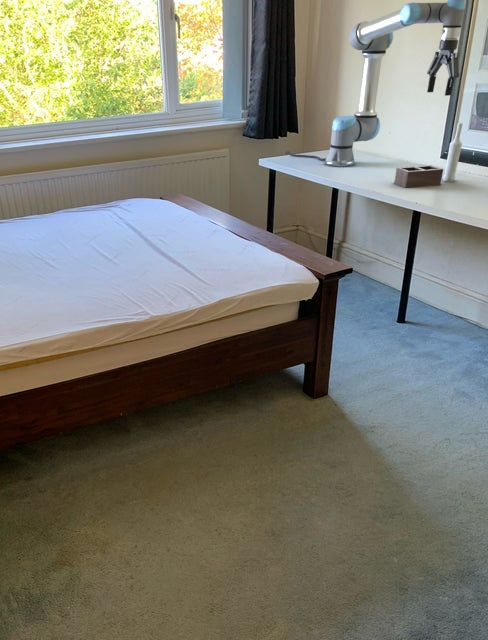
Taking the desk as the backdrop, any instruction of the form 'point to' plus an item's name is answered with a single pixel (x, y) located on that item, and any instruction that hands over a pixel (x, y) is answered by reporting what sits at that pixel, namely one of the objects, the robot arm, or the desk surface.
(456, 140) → the bottle
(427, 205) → the desk surface
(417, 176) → the caddy
